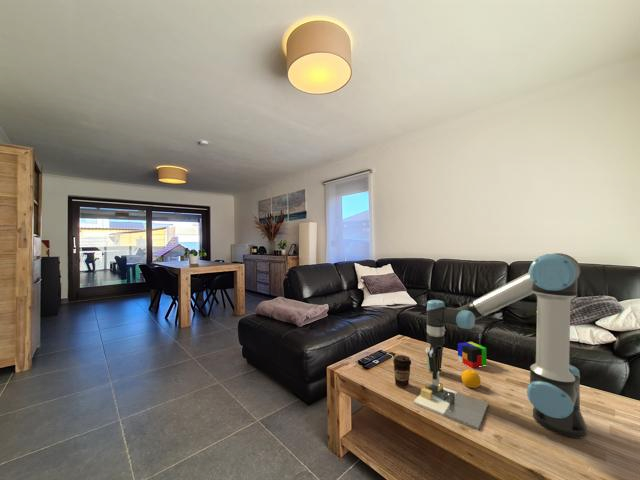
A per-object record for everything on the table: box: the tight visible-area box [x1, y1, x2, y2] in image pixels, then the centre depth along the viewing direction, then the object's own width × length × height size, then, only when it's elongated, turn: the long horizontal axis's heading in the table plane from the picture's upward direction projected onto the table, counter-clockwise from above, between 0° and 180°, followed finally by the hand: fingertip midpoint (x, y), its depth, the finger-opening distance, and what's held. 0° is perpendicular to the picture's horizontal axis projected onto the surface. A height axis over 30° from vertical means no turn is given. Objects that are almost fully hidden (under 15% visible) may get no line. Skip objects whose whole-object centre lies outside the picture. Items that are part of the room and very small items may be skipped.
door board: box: [413, 382, 458, 417], centre depth 116 cm, size 12×20×4 cm, turn 139°
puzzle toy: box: [457, 341, 488, 369], centre depth 150 cm, size 10×10×10 cm
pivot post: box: [447, 392, 455, 404], centre depth 112 cm, size 3×3×4 cm
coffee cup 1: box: [392, 354, 412, 389], centre depth 127 cm, size 9×8×13 cm
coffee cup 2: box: [425, 345, 444, 374], centre depth 140 cm, size 8×8×12 cm
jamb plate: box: [443, 391, 489, 431], centre depth 108 cm, size 12×20×1 cm, turn 139°
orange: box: [461, 368, 482, 389], centre depth 126 cm, size 8×8×8 cm
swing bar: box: [424, 382, 448, 400], centre depth 117 cm, size 9×3×5 cm, turn 36°
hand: (435, 385), depth 122 cm, fingers closed
